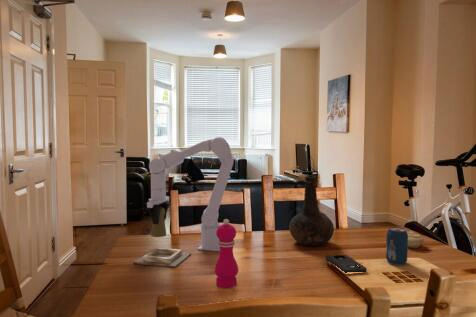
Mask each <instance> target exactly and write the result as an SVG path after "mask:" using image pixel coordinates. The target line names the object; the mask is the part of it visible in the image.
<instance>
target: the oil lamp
mask: <svg viewBox="0 0 476 317" xmlns="http://www.w3.org/2000/svg"><path fill="white" fill-rule="evenodd" d="M406 232H407V234H408V248H409V249H417V248H419V247H420V246H422V245H424V242H425V240H424V238H423V236H421V235H420V234H418V233H416V232H415V231H413V230H412V231H411V230H406Z"/></svg>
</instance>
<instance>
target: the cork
mask: <svg viewBox="0 0 476 317" xmlns="http://www.w3.org/2000/svg"><path fill="white" fill-rule="evenodd" d="M164 215H165V209H164V208H161V211H160V215H159V223H158V224H153V222H152V224H151V232H150V236H151V237H153V238H162V237H165V236H167V229H166V222H165V221H166V220H165V221H164Z"/></svg>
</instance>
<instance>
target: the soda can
mask: <svg viewBox="0 0 476 317" xmlns="http://www.w3.org/2000/svg"><path fill="white" fill-rule="evenodd" d="M406 231H407V229H406V228H404V227H397V226H390V227H388V230H387V231H386V237H385V238H386V242H385V243H386V245H385V259H386V261H387V263H388V264H391V265H393V266H404V265H406V263H407V262H408V251H409V250H408V248H409V247H408V234H407V232H406Z"/></svg>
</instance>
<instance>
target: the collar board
mask: <svg viewBox="0 0 476 317" xmlns="http://www.w3.org/2000/svg"><path fill="white" fill-rule="evenodd" d="M191 255H192V253H191V252H183V249H177V248H164V247H156V248H153V249H152V250H150V251H148V252H147V253H145V254H143V255H142V256H141V257H139V258H137V259H135V260H134V261H133V264H134V265H135V264H137V265H145V266H152V267H164V268H174V269H176V268H177V267H178V266H179V265H180V264H181V263H183V262H184V261H185V260H186V259H188V258H189V257H190V256H191Z"/></svg>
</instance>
